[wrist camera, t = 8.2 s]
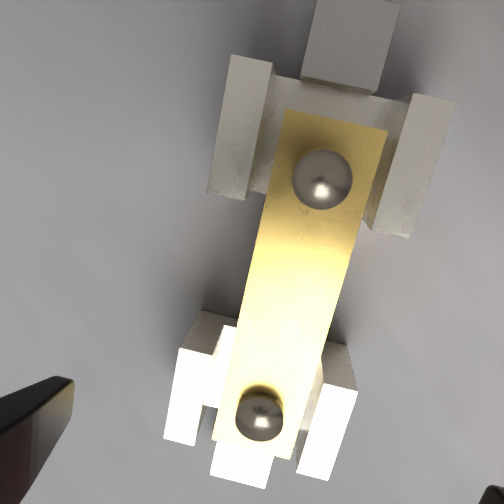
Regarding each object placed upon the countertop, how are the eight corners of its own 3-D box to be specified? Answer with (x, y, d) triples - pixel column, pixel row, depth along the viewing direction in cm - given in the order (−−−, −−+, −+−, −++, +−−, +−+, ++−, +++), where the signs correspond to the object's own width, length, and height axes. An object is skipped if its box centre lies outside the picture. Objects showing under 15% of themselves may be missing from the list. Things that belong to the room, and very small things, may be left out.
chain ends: (445, 34, 17) (489, 4, 13) (309, 463, 23) (311, 527, 20) (259, -4, 17) (248, -44, 13) (177, 429, 24) (154, 486, 20)
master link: (367, 132, 17) (392, 130, 13) (290, 401, 21) (289, 470, 17) (288, 114, 17) (285, 107, 13) (226, 385, 21) (208, 449, 17)
